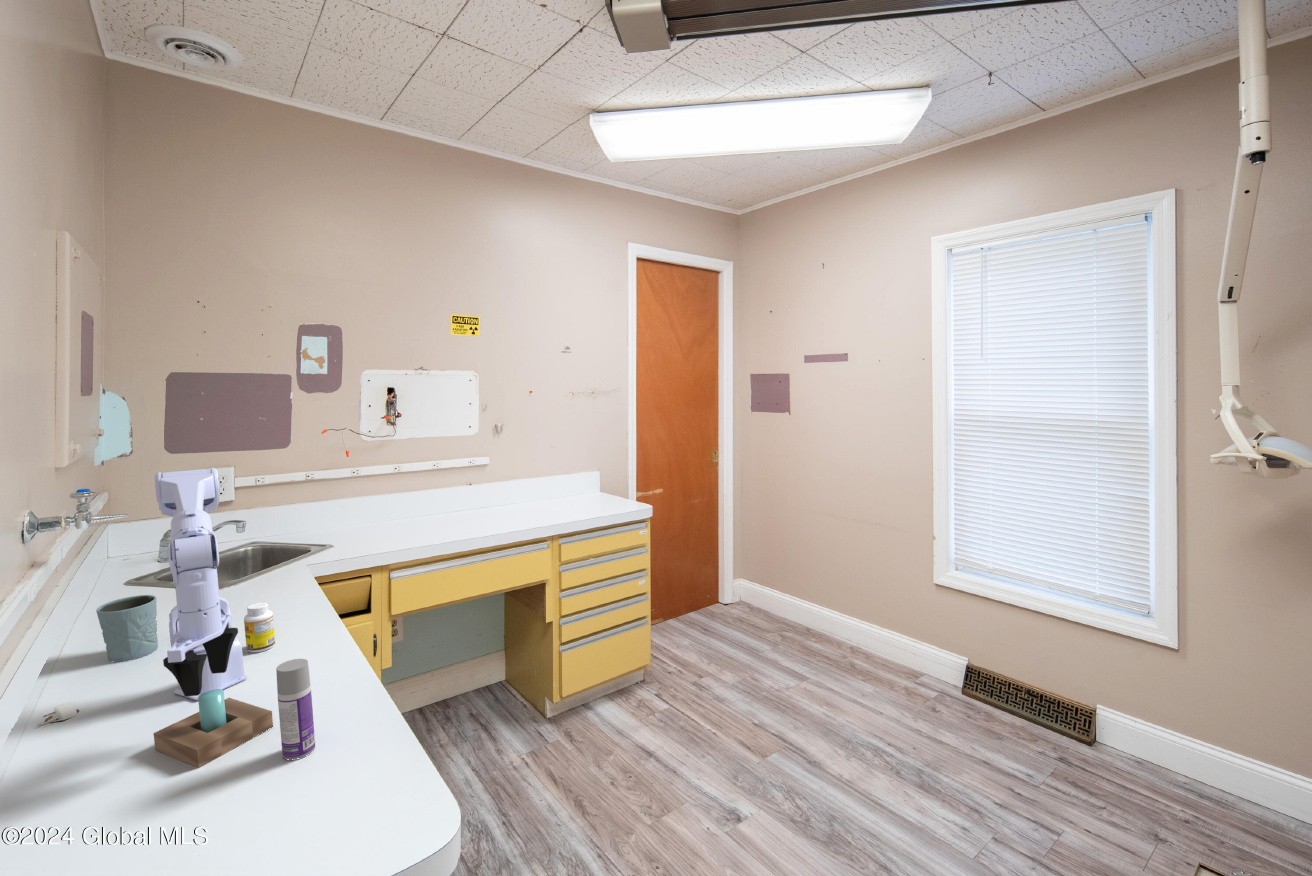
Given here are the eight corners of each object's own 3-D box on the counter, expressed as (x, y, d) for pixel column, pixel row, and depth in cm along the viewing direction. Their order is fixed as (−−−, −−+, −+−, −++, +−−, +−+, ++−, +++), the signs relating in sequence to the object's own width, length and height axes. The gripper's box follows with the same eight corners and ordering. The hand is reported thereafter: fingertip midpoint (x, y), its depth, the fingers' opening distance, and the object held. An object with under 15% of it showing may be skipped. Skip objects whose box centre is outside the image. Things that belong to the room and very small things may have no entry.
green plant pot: (172, 644, 141) (167, 595, 139) (131, 665, 131) (125, 612, 129) (133, 643, 142) (128, 594, 140) (89, 663, 132) (83, 611, 130)
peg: (210, 733, 105) (206, 689, 104) (232, 731, 105) (227, 688, 104) (197, 745, 101) (193, 700, 100) (220, 743, 101) (215, 699, 101)
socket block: (230, 712, 111) (229, 697, 111) (273, 727, 106) (271, 711, 106) (155, 750, 100) (153, 733, 100) (199, 767, 95) (197, 749, 95)
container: (310, 739, 102) (304, 655, 101) (319, 751, 99) (312, 664, 97) (279, 751, 99) (272, 665, 98) (286, 764, 96) (279, 674, 94)
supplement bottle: (246, 647, 139) (242, 604, 138) (274, 640, 142) (271, 599, 141) (246, 656, 134) (243, 612, 133) (276, 649, 137) (272, 606, 136)
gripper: (199, 592, 108) (206, 664, 109) (142, 625, 93) (151, 708, 95) (241, 590, 109) (248, 661, 110) (192, 622, 94) (200, 704, 96)
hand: (206, 683), depth 102 cm, fingers open, 7 cm apart
